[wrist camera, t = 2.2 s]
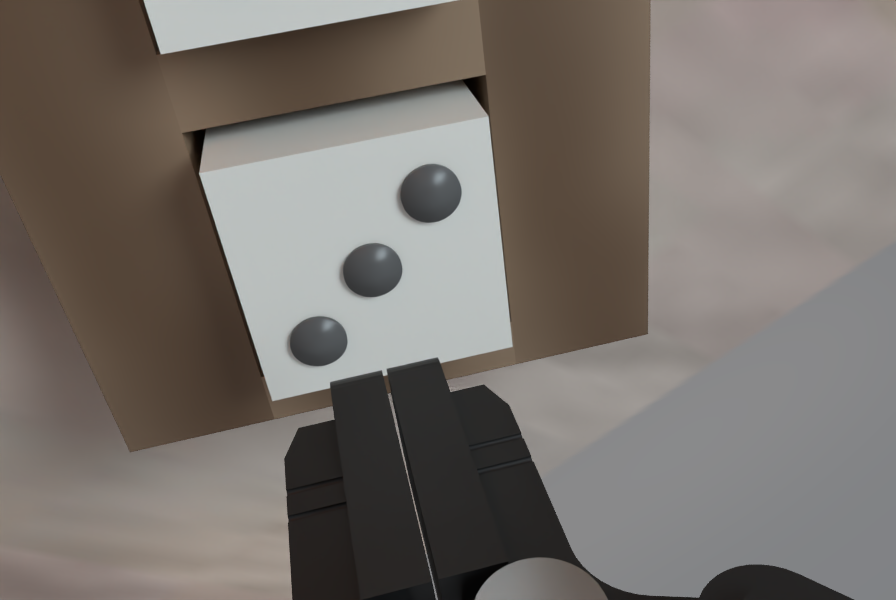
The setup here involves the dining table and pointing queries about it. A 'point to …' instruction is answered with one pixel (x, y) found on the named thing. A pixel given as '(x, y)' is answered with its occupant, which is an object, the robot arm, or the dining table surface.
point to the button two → (254, 18)
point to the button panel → (292, 89)
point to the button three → (362, 234)
